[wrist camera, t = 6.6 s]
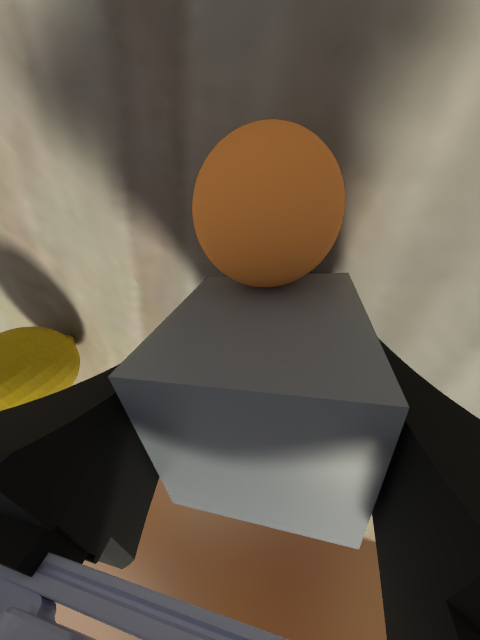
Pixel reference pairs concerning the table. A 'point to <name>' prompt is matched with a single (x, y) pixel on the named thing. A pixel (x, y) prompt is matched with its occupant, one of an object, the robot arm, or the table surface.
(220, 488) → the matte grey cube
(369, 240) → the table surface
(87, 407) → the robot arm
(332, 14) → the table surface
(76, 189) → the table surface
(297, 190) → the ball
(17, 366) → the lemon
